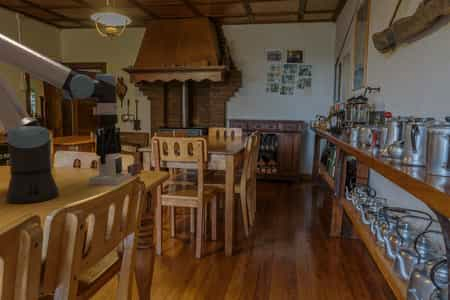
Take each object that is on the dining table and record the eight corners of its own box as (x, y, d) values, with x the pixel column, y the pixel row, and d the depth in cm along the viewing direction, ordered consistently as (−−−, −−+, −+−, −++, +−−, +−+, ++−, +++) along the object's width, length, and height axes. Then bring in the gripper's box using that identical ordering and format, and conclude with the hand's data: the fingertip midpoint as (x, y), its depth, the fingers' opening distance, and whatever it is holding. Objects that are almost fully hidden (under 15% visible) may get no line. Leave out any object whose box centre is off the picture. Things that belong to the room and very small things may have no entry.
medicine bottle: (116, 176, 129) (115, 146, 127) (98, 176, 129) (97, 146, 128) (122, 172, 136) (121, 144, 135) (105, 172, 136) (104, 144, 135)
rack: (130, 177, 140) (130, 166, 140) (104, 176, 143) (103, 165, 142) (141, 172, 150) (140, 162, 149) (116, 171, 153) (116, 161, 152)
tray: (116, 185, 126) (116, 179, 126) (88, 183, 128) (88, 178, 128) (131, 178, 138) (131, 173, 137) (105, 177, 140) (105, 172, 140)
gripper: (101, 114, 119) (104, 175, 122) (129, 113, 139) (131, 166, 142) (83, 114, 120) (86, 175, 123) (113, 113, 140) (115, 165, 143)
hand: (110, 170), depth 132 cm, fingers closed on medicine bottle, 8 cm apart
